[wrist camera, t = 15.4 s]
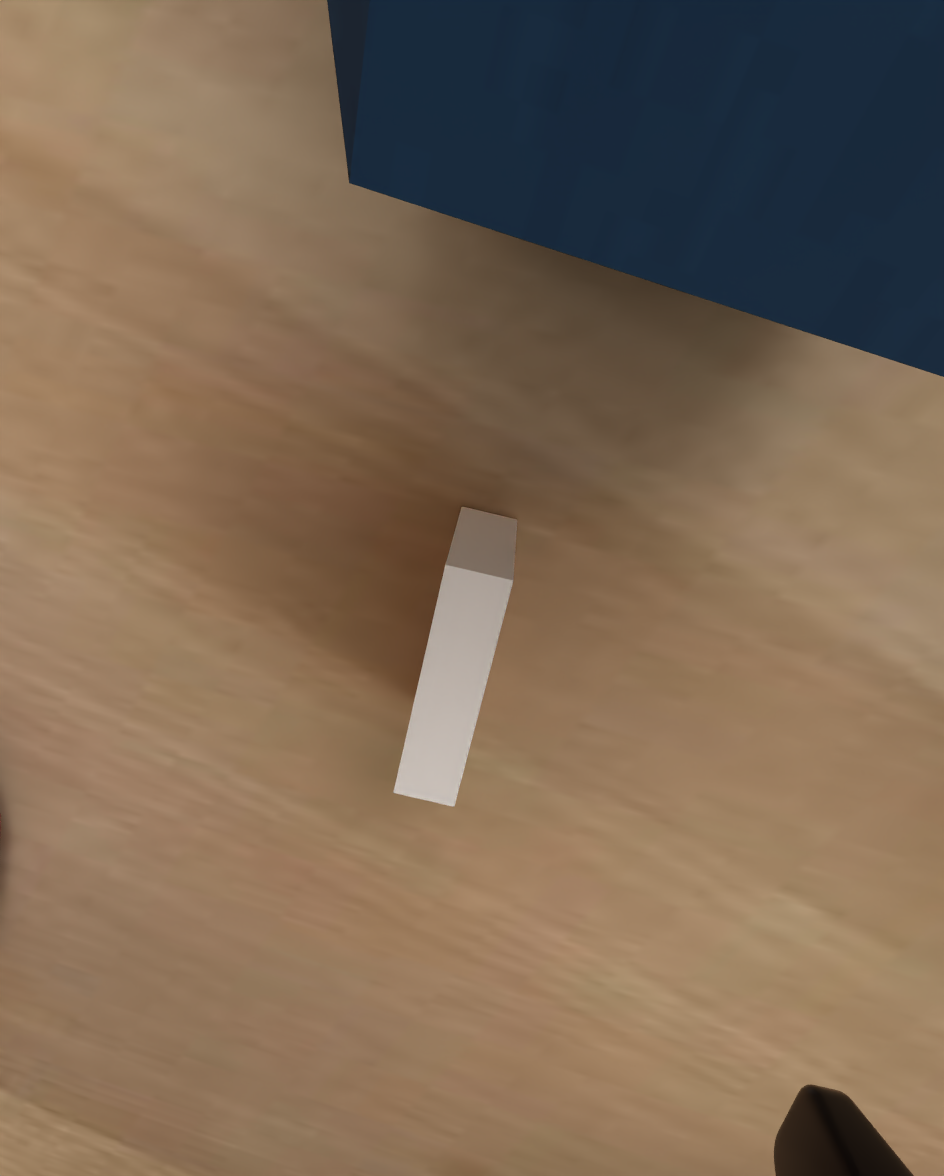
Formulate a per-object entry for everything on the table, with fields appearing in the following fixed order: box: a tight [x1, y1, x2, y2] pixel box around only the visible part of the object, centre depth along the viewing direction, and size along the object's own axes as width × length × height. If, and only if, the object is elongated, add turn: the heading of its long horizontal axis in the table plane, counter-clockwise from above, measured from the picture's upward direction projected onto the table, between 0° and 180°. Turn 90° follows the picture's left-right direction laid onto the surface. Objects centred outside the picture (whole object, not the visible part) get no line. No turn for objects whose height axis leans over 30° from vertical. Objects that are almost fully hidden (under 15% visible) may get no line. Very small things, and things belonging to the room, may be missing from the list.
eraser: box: [393, 507, 517, 807], centre depth 18 cm, size 1×5×4 cm, turn 167°
